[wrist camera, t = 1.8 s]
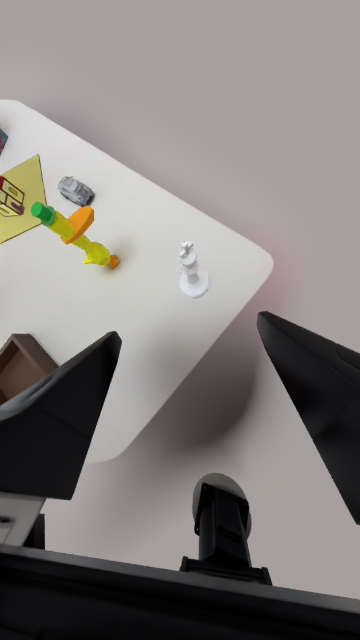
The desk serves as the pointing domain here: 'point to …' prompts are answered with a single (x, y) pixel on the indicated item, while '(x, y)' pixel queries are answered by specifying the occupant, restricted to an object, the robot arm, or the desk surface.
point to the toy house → (20, 198)
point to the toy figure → (75, 231)
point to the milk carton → (2, 140)
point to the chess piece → (191, 273)
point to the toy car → (74, 190)
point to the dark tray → (22, 365)
